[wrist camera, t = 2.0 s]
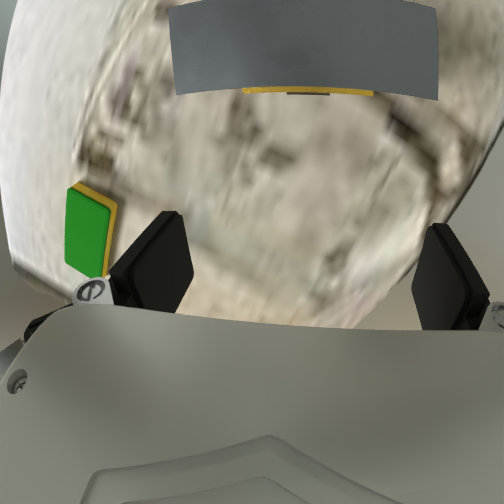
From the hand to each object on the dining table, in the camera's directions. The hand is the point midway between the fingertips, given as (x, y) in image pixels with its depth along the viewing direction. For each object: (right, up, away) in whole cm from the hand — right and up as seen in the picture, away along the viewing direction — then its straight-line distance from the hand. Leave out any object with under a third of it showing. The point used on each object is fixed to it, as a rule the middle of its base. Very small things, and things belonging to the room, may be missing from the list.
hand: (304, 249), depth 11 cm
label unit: (+3, +17, +10) cm, 20 cm away
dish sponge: (-24, +3, +27) cm, 36 cm away
